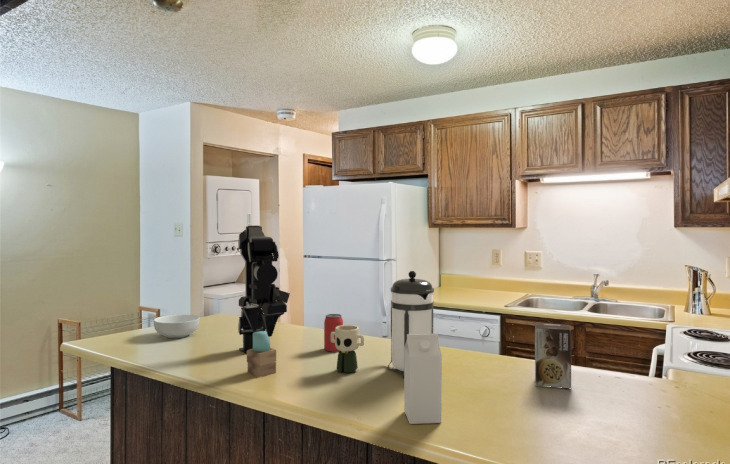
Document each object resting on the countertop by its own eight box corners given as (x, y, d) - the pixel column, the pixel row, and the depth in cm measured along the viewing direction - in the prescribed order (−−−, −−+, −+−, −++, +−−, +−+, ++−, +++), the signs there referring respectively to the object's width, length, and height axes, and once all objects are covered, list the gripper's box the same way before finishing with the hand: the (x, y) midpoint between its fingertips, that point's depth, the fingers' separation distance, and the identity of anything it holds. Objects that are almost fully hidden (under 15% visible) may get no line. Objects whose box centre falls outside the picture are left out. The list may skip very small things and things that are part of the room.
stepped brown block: (246, 362, 136) (246, 350, 136) (263, 357, 141) (263, 346, 141) (259, 366, 132) (259, 354, 132) (276, 361, 137) (276, 349, 137)
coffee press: (444, 366, 142) (444, 269, 141) (428, 383, 128) (429, 274, 127) (391, 359, 149) (391, 267, 149) (371, 374, 135) (371, 271, 134)
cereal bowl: (190, 341, 172) (189, 322, 172) (145, 341, 173) (145, 322, 172) (206, 330, 189) (206, 313, 189) (165, 330, 190) (165, 313, 189)
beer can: (344, 347, 164) (344, 313, 164) (341, 352, 158) (341, 317, 157) (326, 346, 165) (326, 313, 165) (322, 352, 158) (322, 317, 158)
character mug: (325, 372, 137) (325, 328, 137) (336, 365, 144) (336, 323, 143) (358, 376, 133) (358, 331, 133) (368, 369, 139) (368, 326, 139)
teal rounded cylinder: (249, 349, 136) (249, 333, 136) (264, 346, 140) (264, 330, 140) (258, 353, 133) (258, 335, 133) (273, 350, 136) (273, 333, 136)
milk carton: (404, 411, 108) (404, 330, 108) (434, 410, 109) (434, 330, 109) (409, 424, 101) (409, 338, 101) (441, 423, 102) (441, 337, 101)
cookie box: (569, 382, 128) (569, 324, 128) (571, 390, 122) (572, 329, 122) (534, 378, 131) (534, 322, 131) (534, 386, 125) (535, 326, 125)
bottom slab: (247, 373, 137) (247, 361, 137) (265, 369, 141) (265, 357, 141) (257, 378, 132) (257, 366, 132) (276, 373, 136) (275, 362, 136)
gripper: (302, 281, 134) (302, 335, 134) (270, 275, 148) (270, 324, 148) (268, 284, 127) (268, 341, 127) (237, 278, 141) (238, 329, 141)
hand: (262, 333), depth 136 cm, fingers open, 9 cm apart
